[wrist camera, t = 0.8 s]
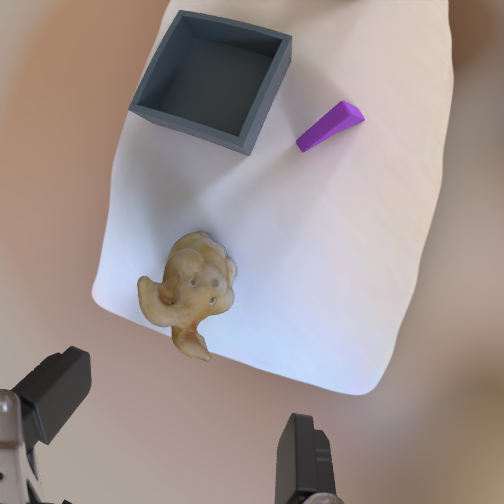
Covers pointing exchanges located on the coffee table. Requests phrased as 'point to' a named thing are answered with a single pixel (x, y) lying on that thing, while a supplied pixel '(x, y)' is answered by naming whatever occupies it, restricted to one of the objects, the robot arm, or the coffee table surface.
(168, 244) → the coffee table surface
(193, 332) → the figurine
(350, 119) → the arrowhead
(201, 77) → the bin
